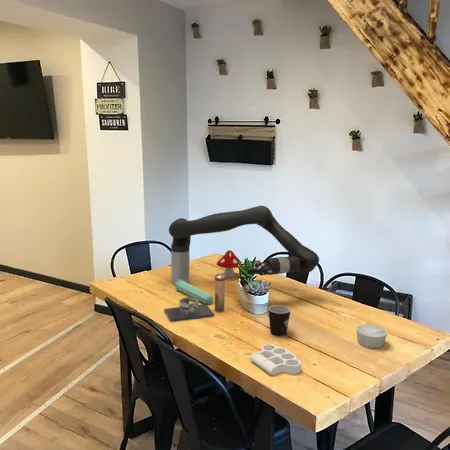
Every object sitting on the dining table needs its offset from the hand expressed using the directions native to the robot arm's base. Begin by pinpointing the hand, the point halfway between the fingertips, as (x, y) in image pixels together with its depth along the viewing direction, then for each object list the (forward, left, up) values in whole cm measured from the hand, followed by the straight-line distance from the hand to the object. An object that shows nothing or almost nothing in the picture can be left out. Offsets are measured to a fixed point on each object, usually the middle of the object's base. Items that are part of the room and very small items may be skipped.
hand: (244, 269), depth 211 cm
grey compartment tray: (+51, -8, -18) cm, 55 cm away
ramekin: (+48, +33, -18) cm, 61 cm away
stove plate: (0, -25, -18) cm, 31 cm away
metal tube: (0, -11, -18) cm, 21 cm away
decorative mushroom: (-42, +9, -18) cm, 47 cm away
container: (-19, -17, -18) cm, 32 cm away
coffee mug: (+29, +5, -18) cm, 34 cm away
